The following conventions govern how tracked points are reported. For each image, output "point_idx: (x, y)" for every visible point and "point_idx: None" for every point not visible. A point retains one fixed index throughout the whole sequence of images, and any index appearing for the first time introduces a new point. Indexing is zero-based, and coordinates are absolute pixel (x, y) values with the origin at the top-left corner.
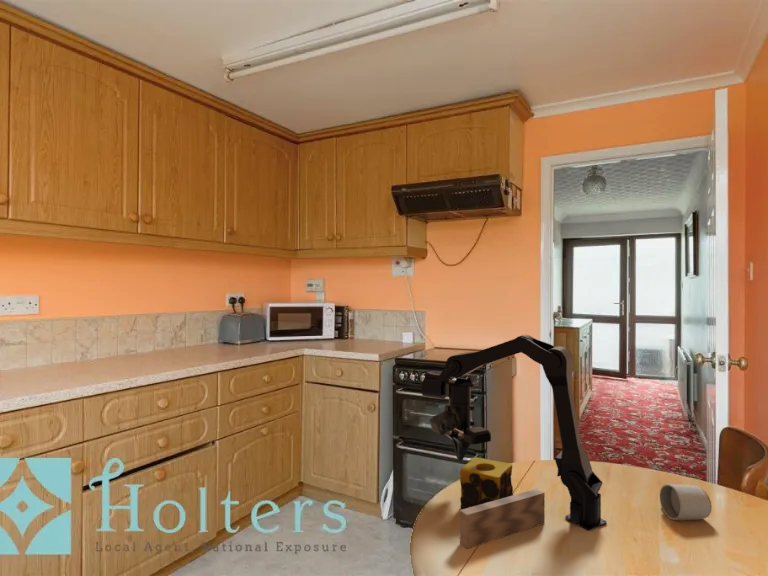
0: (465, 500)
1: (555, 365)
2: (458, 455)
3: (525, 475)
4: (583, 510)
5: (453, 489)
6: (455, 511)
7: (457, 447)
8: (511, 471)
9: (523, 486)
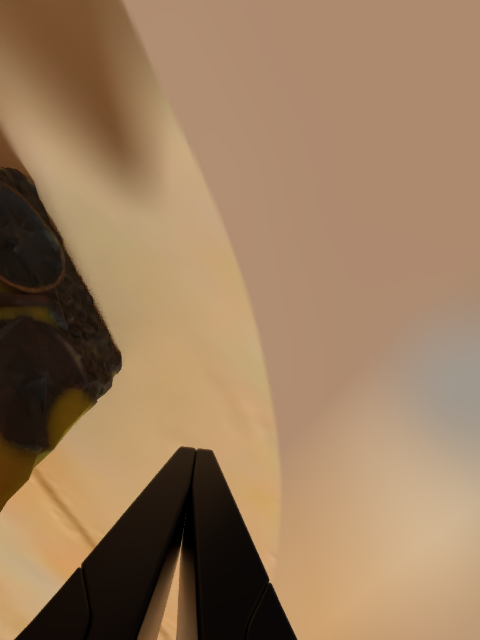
0: None
1: None
2: (169, 484)
3: None
4: None
5: (234, 322)
6: (17, 125)
7: (127, 609)
8: None
9: (77, 558)
